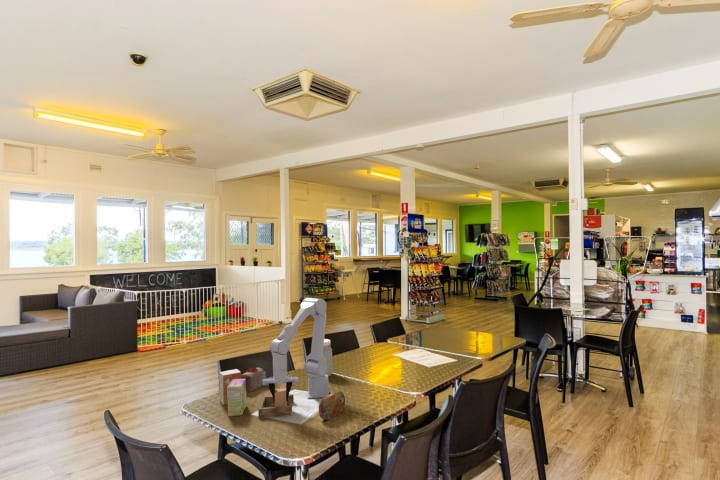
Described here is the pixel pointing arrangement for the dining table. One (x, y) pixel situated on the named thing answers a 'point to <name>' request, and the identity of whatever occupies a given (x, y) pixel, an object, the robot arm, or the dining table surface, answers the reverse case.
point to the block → (280, 397)
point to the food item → (253, 378)
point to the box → (236, 397)
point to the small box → (227, 383)
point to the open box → (274, 411)
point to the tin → (331, 405)
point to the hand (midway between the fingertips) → (281, 400)
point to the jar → (328, 356)
